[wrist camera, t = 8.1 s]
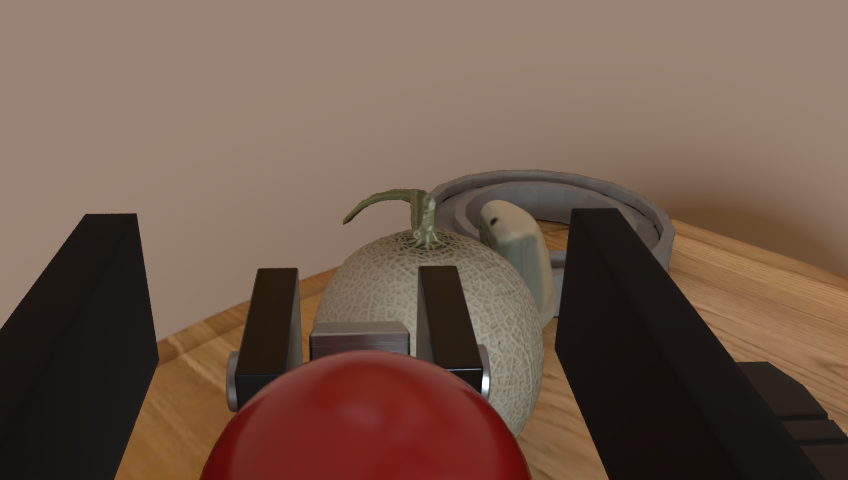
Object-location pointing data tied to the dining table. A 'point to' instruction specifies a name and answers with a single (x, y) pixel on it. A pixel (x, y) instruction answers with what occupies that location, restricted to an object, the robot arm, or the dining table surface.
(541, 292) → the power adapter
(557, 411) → the dining table surface
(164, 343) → the dining table surface
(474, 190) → the mechanical component
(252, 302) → the bracket
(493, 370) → the fruit
